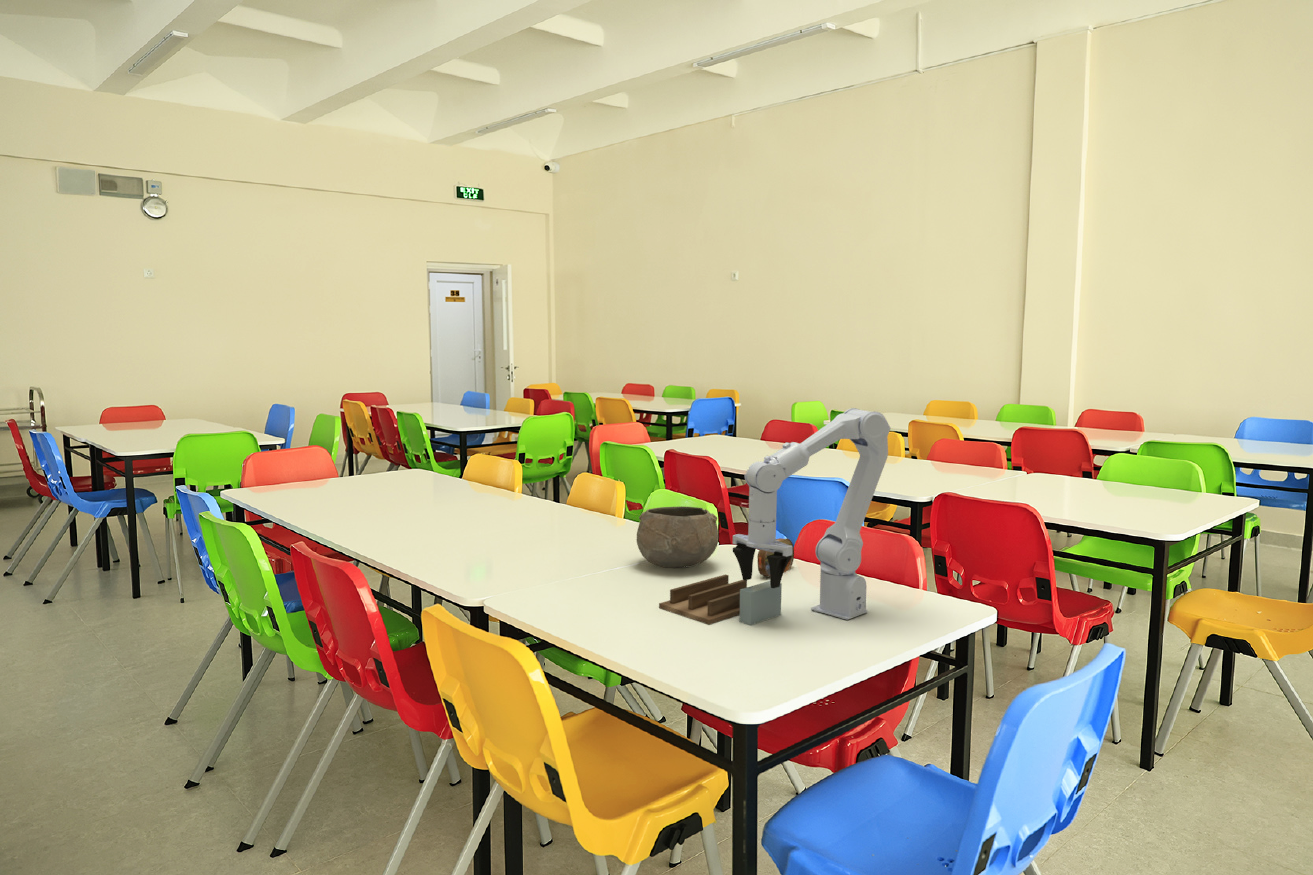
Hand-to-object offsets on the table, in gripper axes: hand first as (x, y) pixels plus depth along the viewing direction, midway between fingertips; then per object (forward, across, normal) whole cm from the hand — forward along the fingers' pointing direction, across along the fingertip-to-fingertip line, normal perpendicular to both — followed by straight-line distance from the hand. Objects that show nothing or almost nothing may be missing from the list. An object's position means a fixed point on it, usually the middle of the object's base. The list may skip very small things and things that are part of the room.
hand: (760, 583), depth 178 cm
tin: (+8, -20, +30) cm, 37 cm away
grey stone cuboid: (+8, 0, 0) cm, 8 cm away
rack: (+8, -12, 0) cm, 14 cm away
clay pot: (+8, -41, +16) cm, 45 cm away
